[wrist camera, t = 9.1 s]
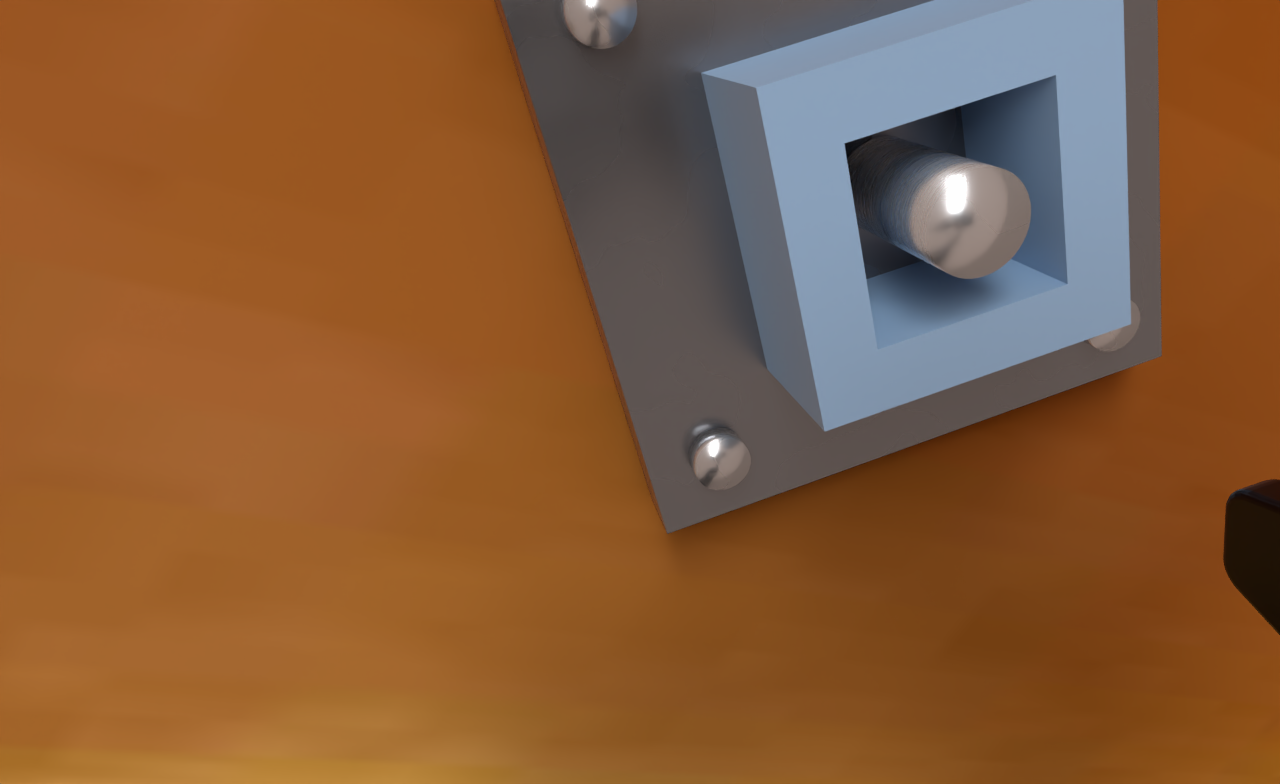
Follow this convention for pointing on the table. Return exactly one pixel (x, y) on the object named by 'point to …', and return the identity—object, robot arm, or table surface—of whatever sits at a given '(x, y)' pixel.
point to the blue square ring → (993, 134)
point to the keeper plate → (710, 252)
